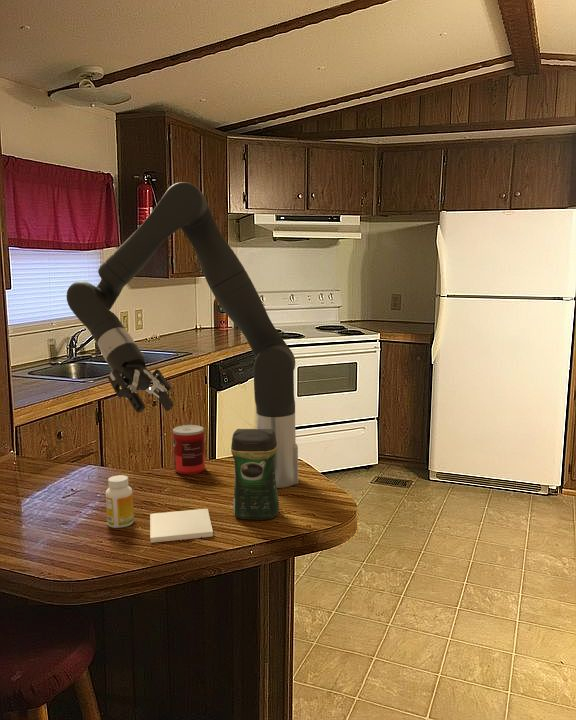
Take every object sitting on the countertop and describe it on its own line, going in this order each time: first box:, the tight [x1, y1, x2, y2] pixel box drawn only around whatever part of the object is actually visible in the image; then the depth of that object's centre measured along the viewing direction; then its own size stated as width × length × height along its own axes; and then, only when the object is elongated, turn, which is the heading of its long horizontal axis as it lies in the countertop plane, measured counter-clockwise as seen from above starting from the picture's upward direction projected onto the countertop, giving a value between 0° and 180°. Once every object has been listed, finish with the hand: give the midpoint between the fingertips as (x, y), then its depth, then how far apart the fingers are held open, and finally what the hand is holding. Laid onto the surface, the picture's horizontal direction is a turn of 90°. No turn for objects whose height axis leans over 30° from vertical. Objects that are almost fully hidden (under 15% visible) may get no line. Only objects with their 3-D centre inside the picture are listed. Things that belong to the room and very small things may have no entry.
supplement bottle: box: [105, 474, 135, 529], centre depth 136 cm, size 5×5×10 cm
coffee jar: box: [230, 428, 280, 520], centre depth 138 cm, size 10×8×19 cm
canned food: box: [172, 424, 206, 475], centre depth 168 cm, size 8×8×11 cm
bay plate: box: [149, 508, 214, 543], centre depth 134 cm, size 12×12×1 cm
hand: (156, 409), depth 141 cm, fingers open, 8 cm apart
